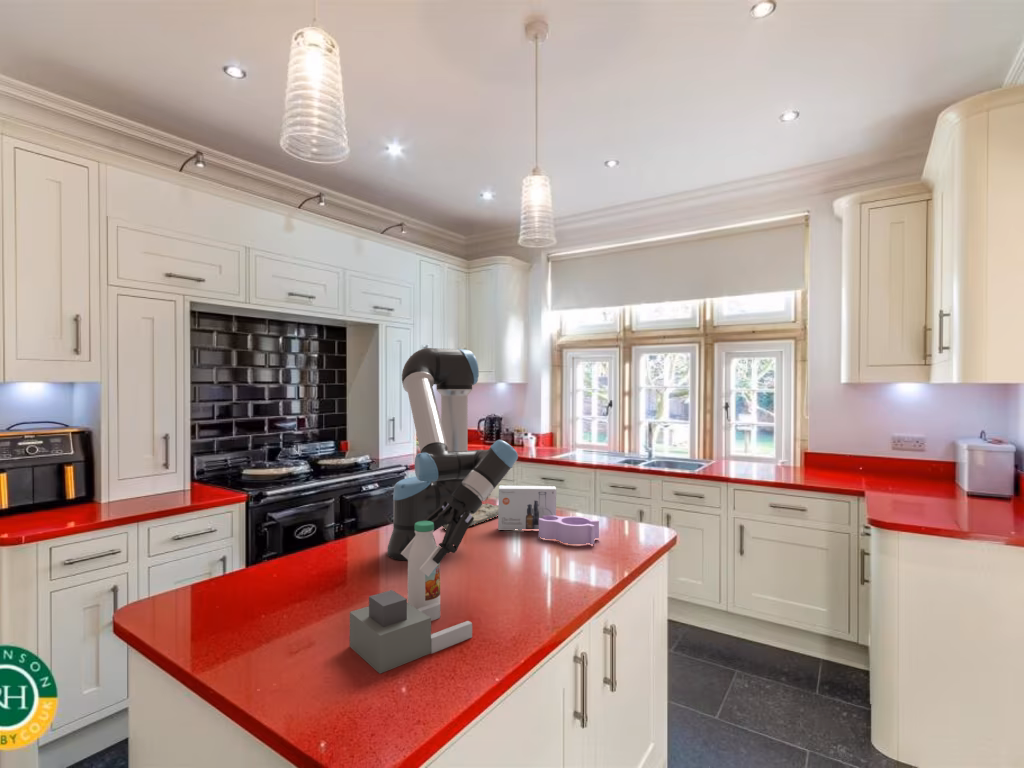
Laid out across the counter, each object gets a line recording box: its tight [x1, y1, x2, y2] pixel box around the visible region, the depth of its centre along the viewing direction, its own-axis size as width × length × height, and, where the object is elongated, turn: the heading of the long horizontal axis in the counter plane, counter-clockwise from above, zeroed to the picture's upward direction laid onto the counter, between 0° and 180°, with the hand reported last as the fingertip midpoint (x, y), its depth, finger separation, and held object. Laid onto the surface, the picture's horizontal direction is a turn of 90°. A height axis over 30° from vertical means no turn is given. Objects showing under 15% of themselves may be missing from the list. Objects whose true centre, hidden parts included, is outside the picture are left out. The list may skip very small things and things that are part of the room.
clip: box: [538, 515, 600, 545], centre depth 177 cm, size 20×12×7 cm, turn 67°
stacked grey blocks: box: [349, 589, 473, 674], centre depth 106 cm, size 14×21×11 cm, turn 132°
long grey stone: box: [442, 503, 498, 530], centre depth 200 cm, size 35×5×10 cm
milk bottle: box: [407, 521, 441, 609], centre depth 123 cm, size 8×8×20 cm
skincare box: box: [497, 485, 557, 530], centre depth 188 cm, size 21×6×16 cm, turn 90°
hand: (413, 564), depth 122 cm, fingers open, 12 cm apart
